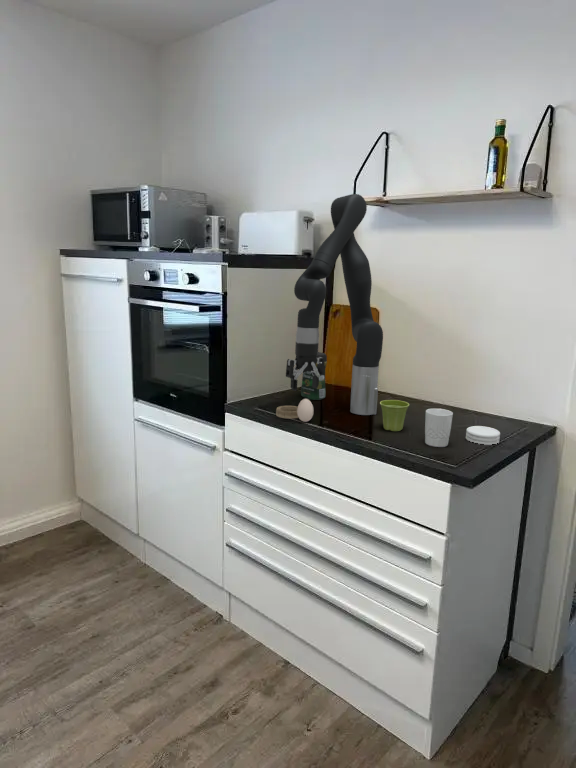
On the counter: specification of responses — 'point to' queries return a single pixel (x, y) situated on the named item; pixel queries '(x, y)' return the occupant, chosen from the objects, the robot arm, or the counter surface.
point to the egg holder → (287, 412)
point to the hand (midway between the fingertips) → (304, 389)
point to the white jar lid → (482, 435)
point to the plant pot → (393, 414)
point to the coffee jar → (307, 387)
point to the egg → (305, 410)
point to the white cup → (437, 427)
